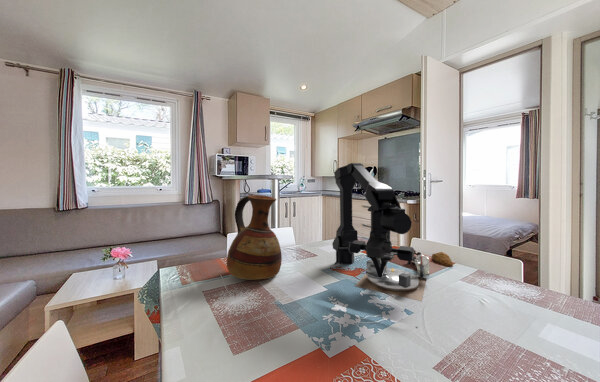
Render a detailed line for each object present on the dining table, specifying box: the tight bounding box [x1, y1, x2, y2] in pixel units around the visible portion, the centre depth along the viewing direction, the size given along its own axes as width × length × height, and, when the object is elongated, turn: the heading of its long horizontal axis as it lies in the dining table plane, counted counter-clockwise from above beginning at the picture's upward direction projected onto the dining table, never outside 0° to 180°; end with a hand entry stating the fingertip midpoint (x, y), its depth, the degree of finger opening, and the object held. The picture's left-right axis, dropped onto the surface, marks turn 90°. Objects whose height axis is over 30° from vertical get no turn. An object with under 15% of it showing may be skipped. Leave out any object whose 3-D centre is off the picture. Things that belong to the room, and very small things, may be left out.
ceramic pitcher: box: [226, 193, 283, 280], centre depth 88 cm, size 20×20×30 cm
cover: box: [365, 259, 388, 279], centre depth 80 cm, size 7×7×4 cm
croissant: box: [431, 251, 454, 268], centre depth 98 cm, size 14×7×5 cm, turn 176°
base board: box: [354, 273, 427, 302], centre depth 79 cm, size 19×19×1 cm
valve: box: [406, 249, 431, 275], centre depth 90 cm, size 7×7×12 cm
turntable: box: [368, 267, 419, 291], centre depth 79 cm, size 16×16×5 cm
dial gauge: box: [415, 254, 430, 281], centre depth 81 cm, size 4×3×8 cm
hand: (380, 277), depth 74 cm, fingers closed
